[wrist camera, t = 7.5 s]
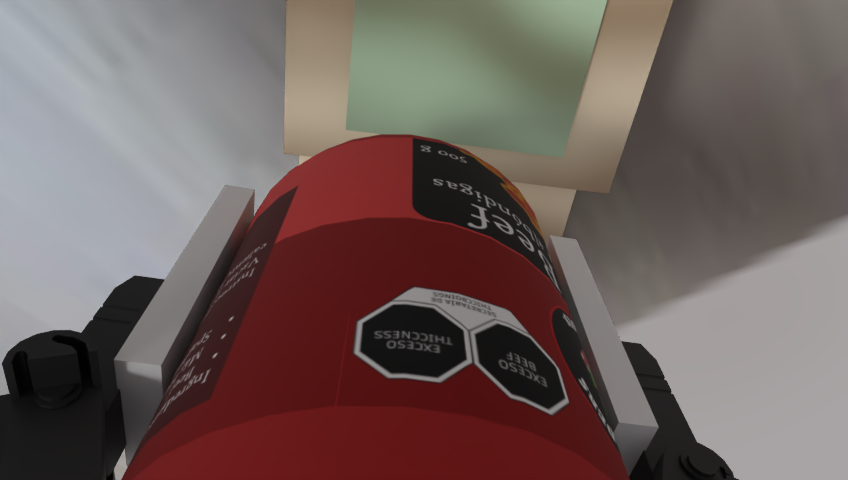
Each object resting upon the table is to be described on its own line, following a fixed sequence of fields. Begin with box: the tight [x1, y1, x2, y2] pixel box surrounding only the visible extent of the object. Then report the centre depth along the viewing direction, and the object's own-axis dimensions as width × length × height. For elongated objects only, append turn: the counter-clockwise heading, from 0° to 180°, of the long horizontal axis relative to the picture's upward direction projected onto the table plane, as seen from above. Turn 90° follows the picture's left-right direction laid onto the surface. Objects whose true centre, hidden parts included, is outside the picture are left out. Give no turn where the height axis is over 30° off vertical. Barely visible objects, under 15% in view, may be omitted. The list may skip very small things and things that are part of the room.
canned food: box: [122, 134, 630, 480], centre depth 12 cm, size 8×8×11 cm
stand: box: [284, 0, 673, 245], centre depth 28 cm, size 24×14×8 cm, turn 172°
